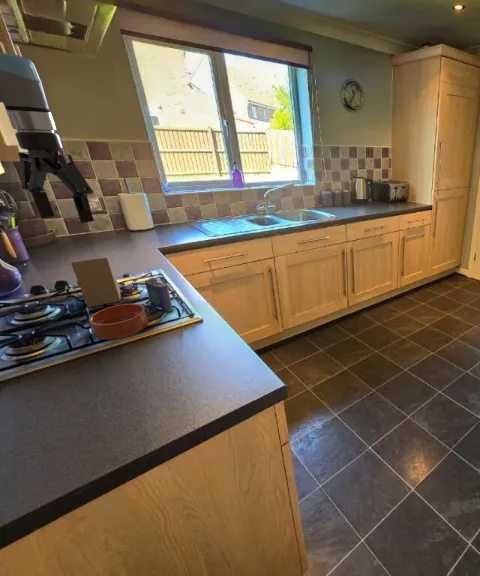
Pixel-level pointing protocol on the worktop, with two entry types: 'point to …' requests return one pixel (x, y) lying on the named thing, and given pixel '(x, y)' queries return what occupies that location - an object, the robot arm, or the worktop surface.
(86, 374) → the worktop surface
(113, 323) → the bowl
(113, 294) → the sandwich container
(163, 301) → the flask
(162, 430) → the worktop surface
